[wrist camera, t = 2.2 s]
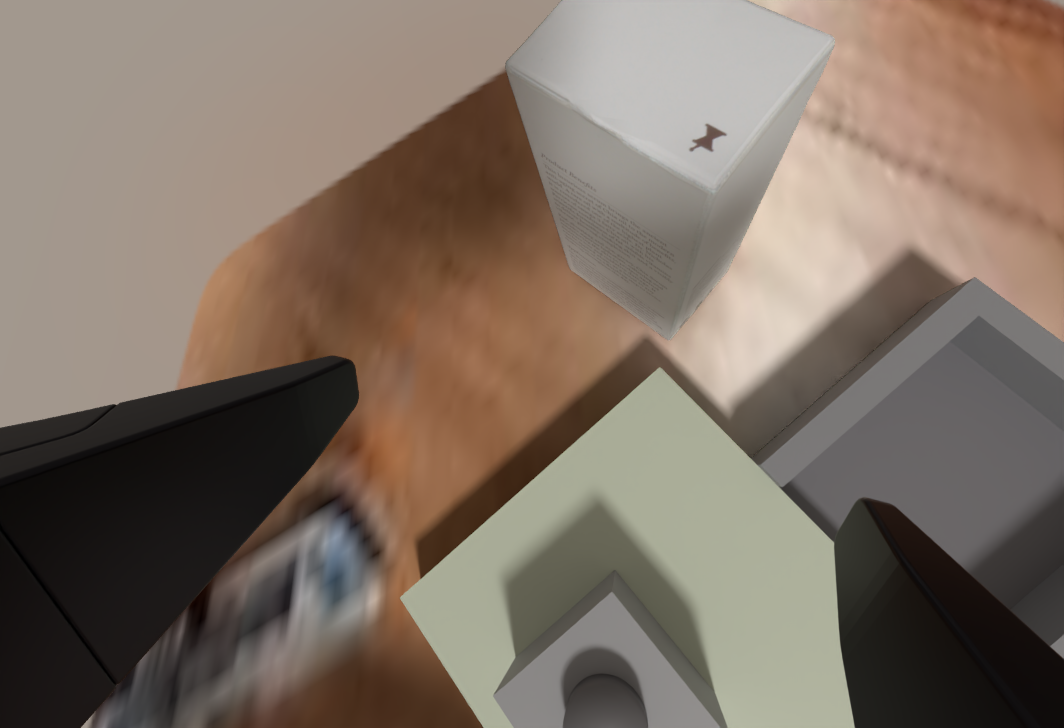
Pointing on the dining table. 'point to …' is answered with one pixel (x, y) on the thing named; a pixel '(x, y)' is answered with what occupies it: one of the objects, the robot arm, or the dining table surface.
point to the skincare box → (661, 136)
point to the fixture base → (755, 536)
